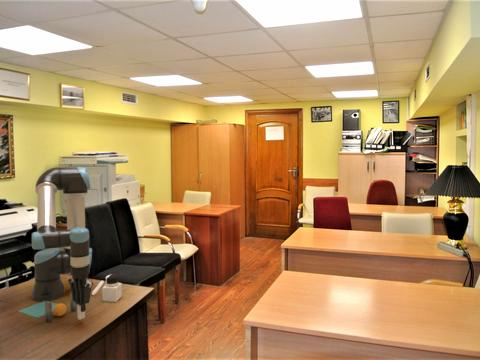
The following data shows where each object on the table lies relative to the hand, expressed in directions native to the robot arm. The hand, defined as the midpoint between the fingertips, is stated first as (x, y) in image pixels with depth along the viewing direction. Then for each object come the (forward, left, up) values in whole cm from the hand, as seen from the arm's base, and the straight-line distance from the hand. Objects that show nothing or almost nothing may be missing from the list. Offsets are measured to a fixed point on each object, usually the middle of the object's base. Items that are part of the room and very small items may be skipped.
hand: (81, 318), depth 167 cm
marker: (-24, +30, -3) cm, 39 cm away
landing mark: (-27, 0, -2) cm, 27 cm away
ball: (-14, 0, +1) cm, 14 cm away
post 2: (-13, +6, -2) cm, 15 cm away
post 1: (-13, -6, -2) cm, 15 cm away
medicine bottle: (-8, +25, -2) cm, 26 cm away
